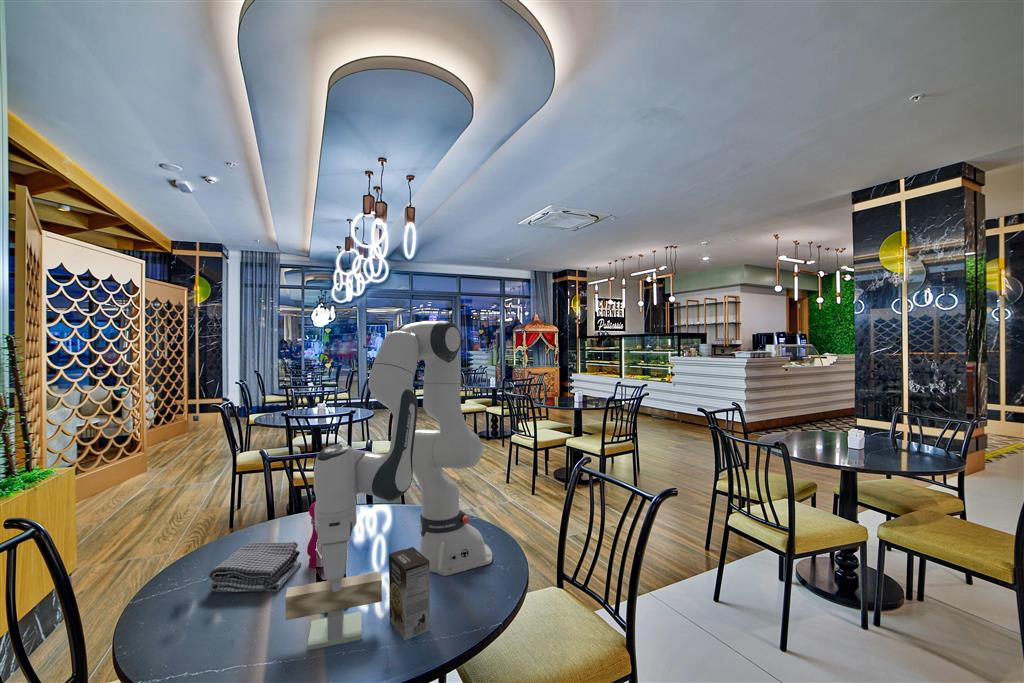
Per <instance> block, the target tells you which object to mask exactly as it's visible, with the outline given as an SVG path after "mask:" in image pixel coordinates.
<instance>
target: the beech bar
mask: <svg viewBox="0 0 1024 683" xmlns="http://www.w3.org/2000/svg"><path fill="white" fill-rule="evenodd" d="M382 582H383V580H382V573H381V571H375V572H370V573H365V574H359V575H353V576H346V577H343V578H342V579H341V590H340V591H336V592H333V591H332V583H331V581H327V580H324V581H319V582H312V583H308V584H307V583H306V584H301V585H296V586H291V587H290V586H289V587H287V589H286V591H285V592H286V593H285V597H284V598H285V599H284V600H285V601H284V604H285V608H284V610H285V612H284V613H285V615H284V616H285V621H291V620H295V619H301V618H305V617H306V618H307V617H310V616H316V615H320V614H326V613H328V612H331V611H337V610H342V609H344V610H345V609H351V608H355V607H356V608H357V607H361V606H366V605H371V604H376V603H381V602H383V588H382V587H383V583H382Z"/></svg>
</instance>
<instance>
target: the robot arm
mask: <svg viewBox="0 0 1024 683" xmlns="http://www.w3.org/2000/svg"><path fill="white" fill-rule="evenodd" d="M461 345H462V334H461V332H460V330H459V328H458V326H457V325H456V324H455V323H454V322H451V321H448V320H423V321H417V322H411V323H408V322H407V323H403V324H400V325H398V326H397V327H395V328H394V329H393V330H392V331H391V332H389V333H388V334H387V335H386V336H385V337H384V339H383V341H382V343H381V344H380V347H379V349H378V351H377V353H376V356H375V359H374V361H373V363H372V367H371V370H370V373H369V377H368V390H369V392H370V393H371V395H372V397H373V398H374V399H375V400H376V401H377V402H379V403H380V404H381V405H383V406H384V407H386V408H388V410H389V411H390V412H391V414H392V417H393V418H392V419H393V423H392V429H391V436H390V443H389V444H390V445H389V450H388V452H387V453H386V454H385V453H378V452H374V451H367V450H359V449H355V448H353V447H351V445H349V444H346V443H337V444H333V445H328V446H326V447H325V448H322V450H320V451H319V452H318V453H317V455H316V457H315V461H314V466H313V467H314V468H313V493H314V495H315V502H316V503H315V508H314V509H315V530H316V532H317V534H318V544H321V551H322V560H323V567H322V568H323V575H324V578H325V581H331V583H332V591H333V592H336V591H340V590H341V579H342V578H345V574H346V564H347V556H348V554H347V552H348V544H349V540H351V536H352V532H353V530H354V528H355V526H356V525H357V522H358V521H357V520H358V515H357V514H358V512H357V499H356V496H357V495H358V494H365V495H369V496H374V497H377V498H379V499H381V500H384V501H387V502H392V501H396V500H397V499H399V498H401V497H402V496H403V495H404V494H405V493H406V492H407V491H408V490H409V489H410V487H411V486H412V482H413V477H414V476H415V478H416V480H417V482H418V486H419V488H420V496H421V497H420V498H421V499H420V500H421V501H420V502H421V513H420V516H419V533H420V542H419V543H420V544H419V548H418V552H419V553H421V554H422V555H423V556H424V557H425V558H426V559H428V560H429V561H430V573H436V574H438V575H440V576H444V577H447V576H451V575H454V574H458V573H461V572H465V571H468V570H471V569H475V568H478V567H479V568H480V567H482V566H486V565H490V564H491V563H492V561H493V559H494V558H493V551H492V550H491V547H489V546H488V544H486V543H485V541H484V538H483V536H482V534H481V532H480V531H479V530H478V528H475V527H474V526H472V525H471V524H470V522H471V519H470V517H469V516H468V515H467V514H466V512H465V511H463V509H461V508H460V489H459V485H458V483H457V482H456V481H455V480H453V479H452V478H451V477H449V476H448V475H447V474H446V472H445V471H444V469H453V470H455V469H456V470H460V469H461V470H462V469H469V468H474V467H475V466H477V465H478V464H479V462H480V461H481V459H482V456H483V452H484V450H483V443H482V439H480V437H479V435H478V434H477V433H475V431H473V430H472V429H471V428H470V426H469V425H468V423H467V422H466V420H465V417H464V415H463V411H462V401H461V384H462V383H461V378H462V377H461V364H460V359H459V358H460V357H459V352H460V349H461V347H462V346H461ZM418 361H424V364H425V368H424V375H423V393H422V408H423V410H424V411H425V413H426V414H427V415H428V416H430V417H431V418H434V420H435V421H436V422H437V424H438V426H439V429H430V428H418V429H417V422H418V421H417V420H418V411H419V410H418V409H419V402H418V401H419V400H418V397H417V395H416V393H415V392H414V386H413V385H414V379H415V375H416V370H417V366H418ZM413 474H414V475H413Z"/></svg>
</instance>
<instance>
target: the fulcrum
mask: <svg viewBox="0 0 1024 683" xmlns="http://www.w3.org/2000/svg"><path fill="white" fill-rule="evenodd" d="M344 610H345V609H342V610H337V611H331V612H327V617H325V618H318V619H314V620H311V623H310V629H309V635H308V638H307V639H308V640H307V644H306V645H307V647H306V649H307V651H310V650H311V651H312V650H316V649H320V648H321V649H322V648H326V647H332V646H336V645H340V644H345V643H350V642H351V643H352V642H357V641H361V640H362V639H363V638H362V634H363V633H362V624H363V623H362V620H363V618H362V611H356V612H351V613H344V612H345V611H344Z"/></svg>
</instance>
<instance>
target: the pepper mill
mask: <svg viewBox="0 0 1024 683" xmlns="http://www.w3.org/2000/svg"><path fill="white" fill-rule="evenodd" d="M315 503H316V501H314V502H312V503H311V504H310V507H309V510H308V514H309V516H310V517H311V518H310V521H311V522H310V524H311V525H312V533H311V536H310V539H309V542H308V543H307V550H306V553H307V555H308V557H309V558H308V566H309V567H310V568H313V569H317V568H316V551H315V549H316V542H317V539H318V534H317V532H316V530H315V509H314V508H315Z"/></svg>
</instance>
